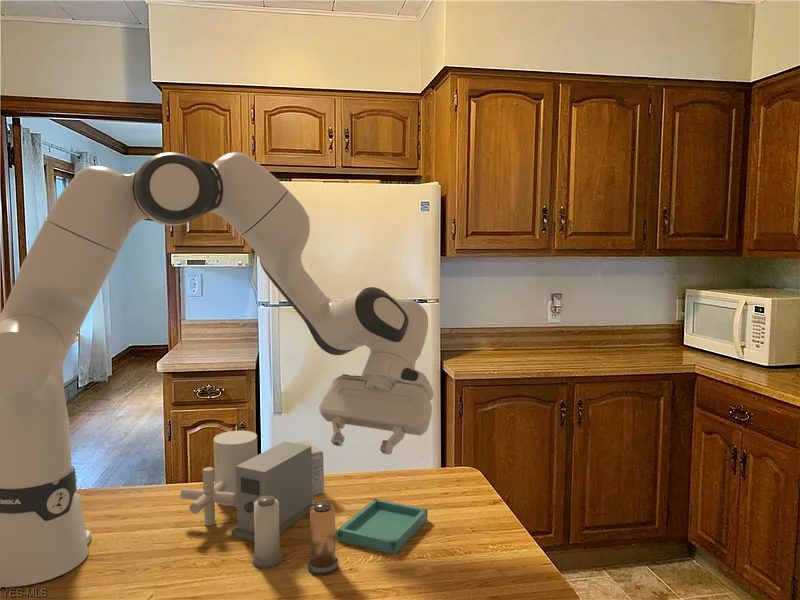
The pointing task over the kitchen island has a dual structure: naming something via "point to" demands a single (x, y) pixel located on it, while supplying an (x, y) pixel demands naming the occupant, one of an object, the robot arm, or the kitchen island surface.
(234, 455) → the light grey cylinder
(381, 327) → the robot arm
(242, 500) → the box
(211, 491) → the pipe connector
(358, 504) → the kitchen island surface
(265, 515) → the cylinder
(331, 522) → the copper cartridge
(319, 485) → the medicine box
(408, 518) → the tray
